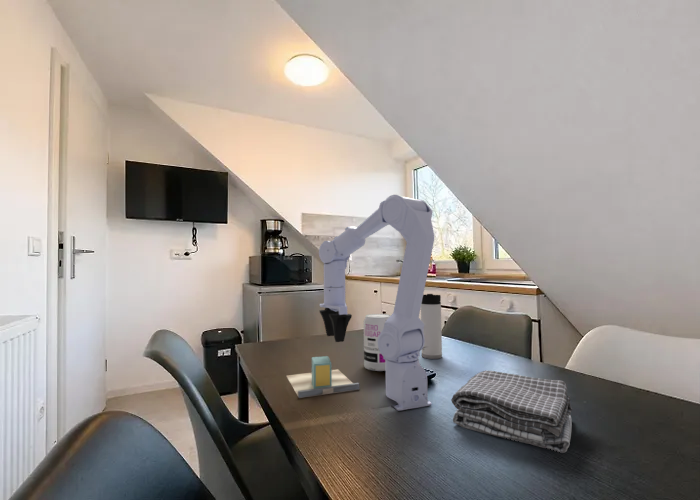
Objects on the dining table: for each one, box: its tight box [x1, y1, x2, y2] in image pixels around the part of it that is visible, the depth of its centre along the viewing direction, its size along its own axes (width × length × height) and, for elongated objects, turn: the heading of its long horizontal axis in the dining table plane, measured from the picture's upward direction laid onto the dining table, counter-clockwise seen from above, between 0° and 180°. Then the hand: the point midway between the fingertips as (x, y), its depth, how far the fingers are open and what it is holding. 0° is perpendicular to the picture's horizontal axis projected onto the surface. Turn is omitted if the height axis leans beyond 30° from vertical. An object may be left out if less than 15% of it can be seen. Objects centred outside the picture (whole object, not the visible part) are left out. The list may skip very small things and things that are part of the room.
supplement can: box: [363, 313, 392, 372], centre depth 98 cm, size 8×8×15 cm
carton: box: [311, 355, 333, 389], centre depth 82 cm, size 4×6×6 cm, turn 11°
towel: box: [450, 370, 573, 454], centre depth 64 cm, size 15×18×8 cm
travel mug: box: [420, 293, 443, 360], centre depth 110 cm, size 6×7×20 cm
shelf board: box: [286, 368, 361, 399], centre depth 85 cm, size 16×14×2 cm
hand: (335, 338), depth 92 cm, fingers open, 7 cm apart
